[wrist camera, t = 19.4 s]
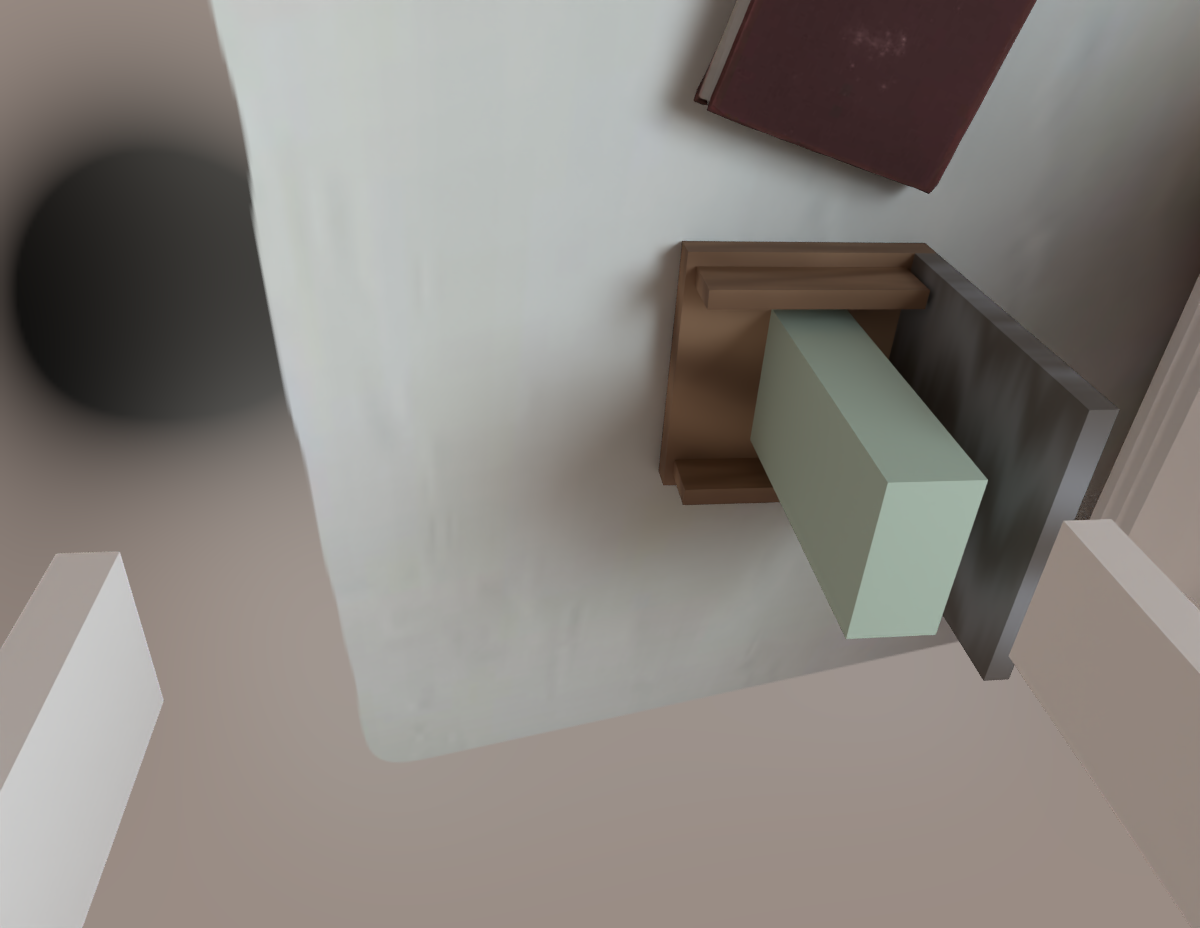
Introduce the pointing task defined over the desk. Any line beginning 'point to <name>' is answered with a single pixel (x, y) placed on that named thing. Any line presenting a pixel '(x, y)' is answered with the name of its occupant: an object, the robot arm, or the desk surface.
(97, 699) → the robot arm
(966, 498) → the grey-green tall block
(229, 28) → the desk surface
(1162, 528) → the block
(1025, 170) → the desk surface
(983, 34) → the book
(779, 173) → the desk surface
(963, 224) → the desk surface
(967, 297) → the slot board
